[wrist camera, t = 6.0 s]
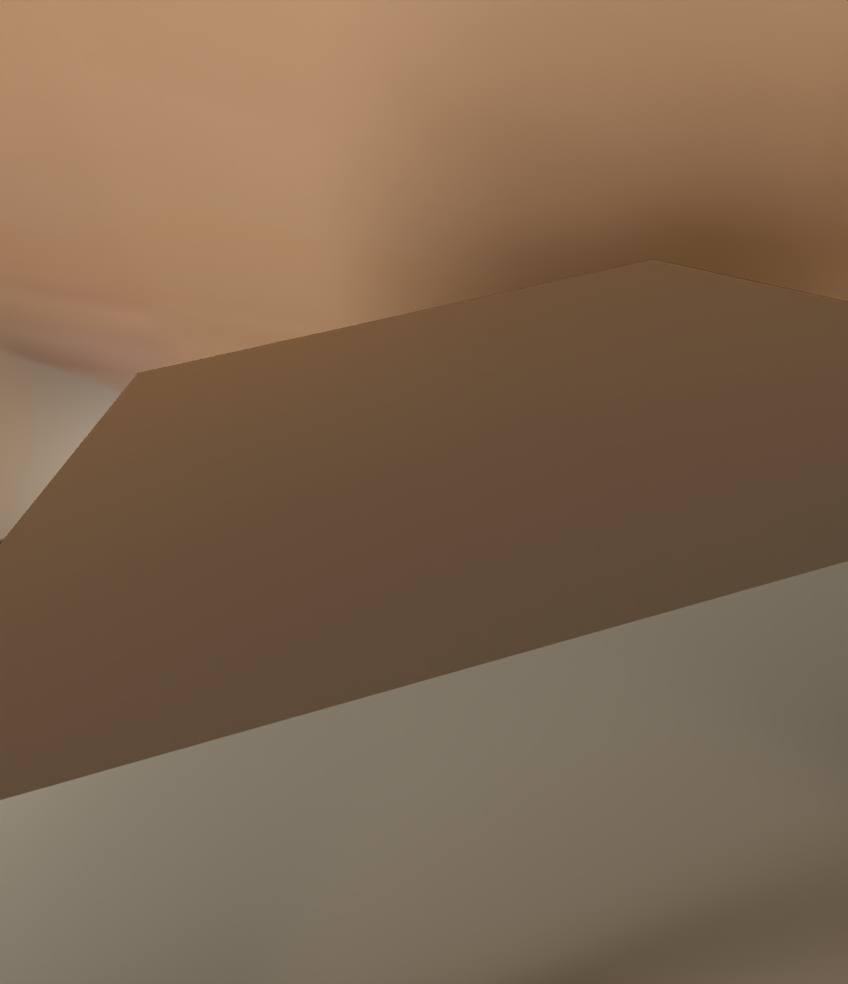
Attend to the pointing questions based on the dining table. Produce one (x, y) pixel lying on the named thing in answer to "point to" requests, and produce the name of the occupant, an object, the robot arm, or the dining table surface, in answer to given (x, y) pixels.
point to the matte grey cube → (445, 654)
